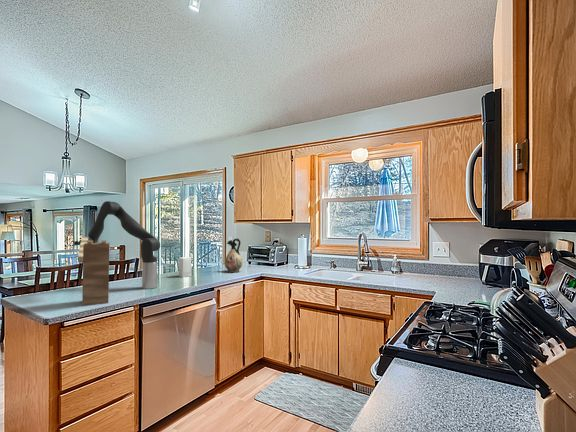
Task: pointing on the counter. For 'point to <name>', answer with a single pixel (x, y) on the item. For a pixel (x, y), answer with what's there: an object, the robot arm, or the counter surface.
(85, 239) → the beech bar
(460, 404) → the counter surface
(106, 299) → the walnut stand
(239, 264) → the ceramic jug
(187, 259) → the skincare box
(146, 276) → the robot arm
